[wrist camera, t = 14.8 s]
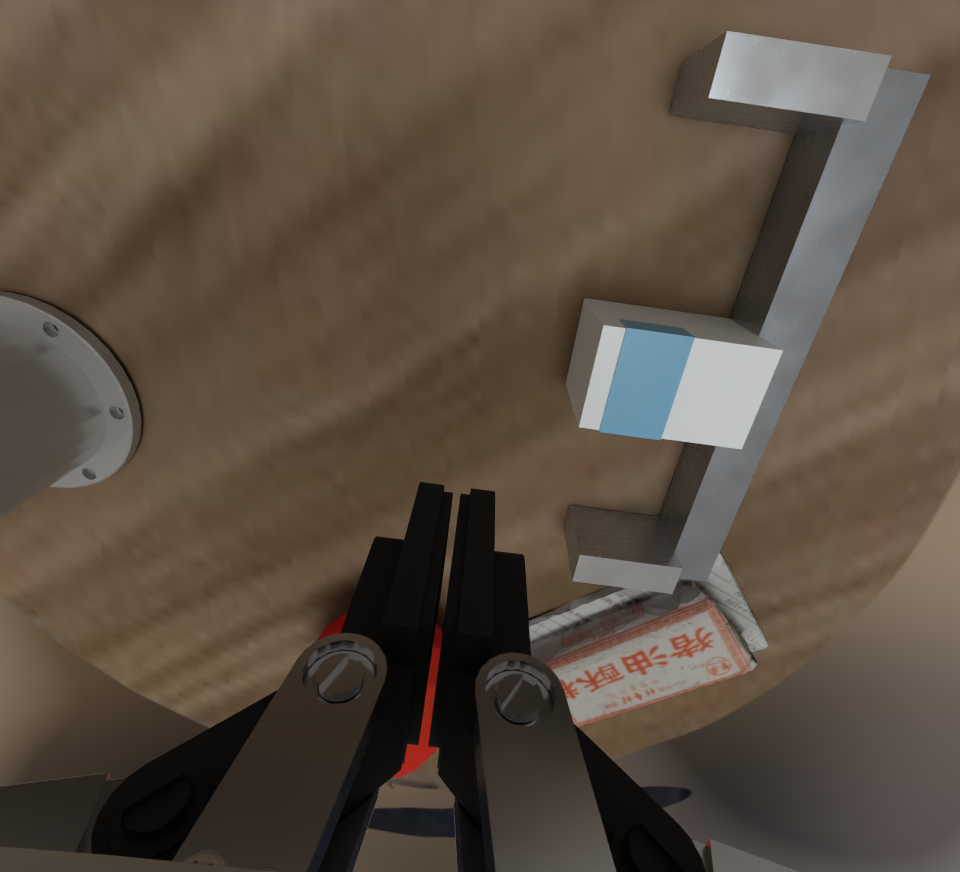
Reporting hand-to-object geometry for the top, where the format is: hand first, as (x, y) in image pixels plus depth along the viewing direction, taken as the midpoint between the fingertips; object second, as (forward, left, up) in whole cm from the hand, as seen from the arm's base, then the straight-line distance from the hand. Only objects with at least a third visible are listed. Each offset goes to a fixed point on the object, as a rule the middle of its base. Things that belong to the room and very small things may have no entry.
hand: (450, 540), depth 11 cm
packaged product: (+14, -22, -19) cm, 32 cm away
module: (+9, 0, -19) cm, 21 cm away
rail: (+12, 0, -19) cm, 22 cm away
